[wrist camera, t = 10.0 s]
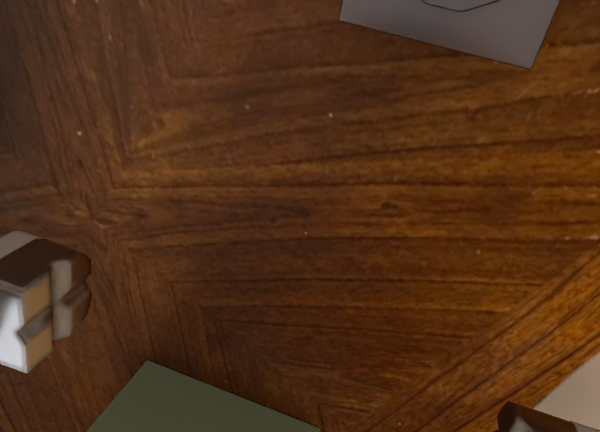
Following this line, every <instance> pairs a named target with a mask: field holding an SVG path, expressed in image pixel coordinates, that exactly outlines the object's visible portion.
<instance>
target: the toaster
mask: <svg viewBox="0 0 600 432" xmlns="http://www.w3.org/2000/svg"><path fill="white" fill-rule="evenodd" d="M320 431H321V429H320V428H318V427H315V426H313V425H310V424H308V423H305V422H303V421H300V420H298V419H295V418H293V417H290V416H288V415H285V414H282V413H280V412H277V411H275V410H272V409H270V408H267V407H265V406H262V405H260V404H257V403H255V402H252V401H250V400H247V399H245V398H242V397H239V396H237V395H234V394H232V393H229V392H227V391H224V390H222V389H219V388H217V387H214V386H212V385H209V384H207V383H204V382H202V381H199V380H196V379H194V378H191V377H189V376H186V375H184V374H181V373H179V372H176V371H174V370H171V369H169V368H166V367H164V366H161V365H159V364H156V363H153V362H151V361H148V360H147V361H146V362H145V363H144V365H143V366H142V367H141V368H140V369H139V371H138V372H137V373H136V374H135V375H134V376H133V378H132V379H131V380H130V381H129V382H128V383H127V385H126V386H125V387H124V388H123V389H122V390H121V392H120V393H119V394H118V395H117V396H116V398H115V399H114V400H113V401H112V402H111V403H110V405H109V406H108V407H107V408H106V409H105V410H104V412H103V413H102V414H101V415H100V416H99V417H98V419H97V420H96V421H95V422H94V423H93V425H92V426H91V427H90V428H89V429H88V430H87V432H320Z"/></svg>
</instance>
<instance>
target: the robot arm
mask: <svg viewBox="0 0 600 432" xmlns="http://www.w3.org/2000/svg"><path fill="white" fill-rule="evenodd" d="M90 274H91V259H90V258H89V257H88V256H87V255H86V254H84V253H81V252H79V251H76V250H73V249H71V248H68V247H65V246H63V245H60V244H57V243H55V242H52V241H49V240H47V239H44V238H43V239H42V238H40V237H38V236H35V235H32V234H29V233H27V232H24V231H13V232H11V233H9V234H7V235H5V236H3V237H1V238H0V364H2V365H5V366H8V367H11V368H14V369H16V370H19V371H22V372H25V373H28V372H29V371H30V370H31V369H33V368H34V367H35V366H36V365H37V364H38V363H39V362H41V361H42V360H43V359H44V358H45V357H46V356H47V355H49V354H50V353H51V352H52V351H53V348H54V340H57V339H61V338H64V337H67V336H70V335H71V334H72V333H73V332H74V331H75V330H76V329H77V328H79V327H80V325H81V324H82V322H83V320H84V319H85V317H86V315H87V314H88V311H89V307H90V303H91V291H90V289H89V287H88V285H87V284H86V282H85V279H86V278H87V277H88V276H89V275H90ZM497 418H498V427H499V430H496V431H494V432H600V430H597V429H594V428H591V427H588V426H584V425H581V424H578V423H575V422H572V421H566V420H564V419H561V418H558V417H555V416H552V415H549V414H546V413H543V412H540V411H537V410H534V409H531V408H528V407H525V406H523V405H520V404H517V403H514V402H511V401H508V402H507V403H506V404H505V405H504V406H503V407H502V409H501V411H500V412H499V414H498V416H497Z"/></svg>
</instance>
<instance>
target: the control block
mask: <svg viewBox="0 0 600 432" xmlns="http://www.w3.org/2000/svg"><path fill="white" fill-rule="evenodd" d="M559 3H560V0H343V1H342V5H341V9H340V13H339V18H338V20H339V21H342V22H345V23H349V24H353V25H357V26H361V27H365V28H369V29H373V30H377V31H381V32H384V33H388V34H392V35H396V36H400V37H404V38H408V39H412V40H416V41H420V42H423V43H427V44H431V45H435V46H439V47H443V48H447V49H451V50H455V51H459V52H463V53H466V54H470V55H474V56H478V57H482V58H486V59H490V60H494V61H498V62H502V63H505V64H509V65H513V66H517V67H521V68H525V69H529V70H531V69H532V67H533V65H534V62H535V60H536V58H537V55H538V53H539V51H540V48H541V46H542V43H543V41H544V39H545V36H546V34H547V31H548V29H549V27H550V24H551V22H552V19H553V17H554V15H555V12H556V10H557V8H558V5H559Z"/></svg>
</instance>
